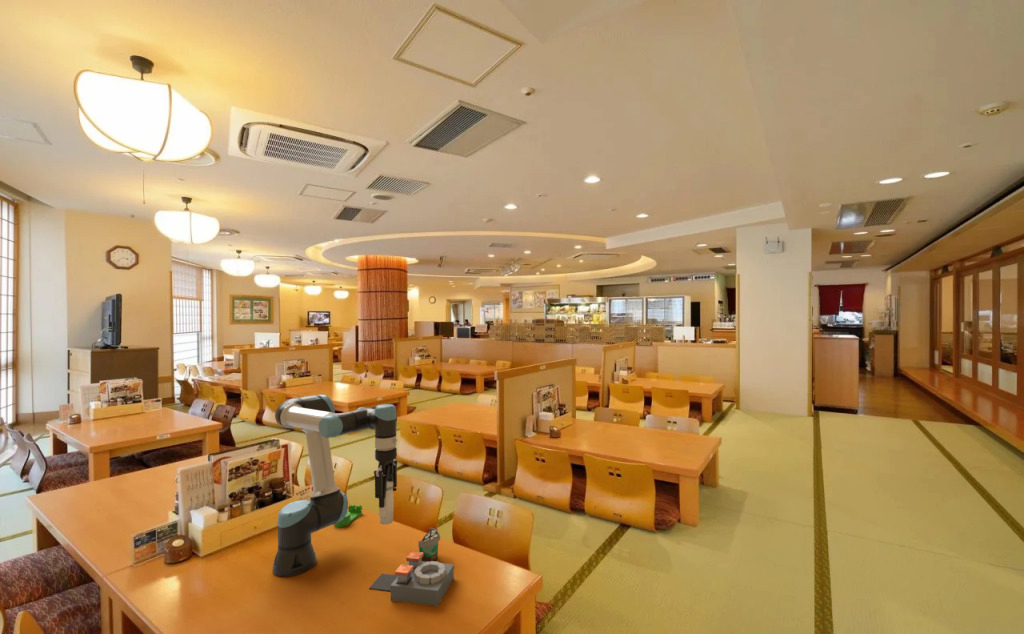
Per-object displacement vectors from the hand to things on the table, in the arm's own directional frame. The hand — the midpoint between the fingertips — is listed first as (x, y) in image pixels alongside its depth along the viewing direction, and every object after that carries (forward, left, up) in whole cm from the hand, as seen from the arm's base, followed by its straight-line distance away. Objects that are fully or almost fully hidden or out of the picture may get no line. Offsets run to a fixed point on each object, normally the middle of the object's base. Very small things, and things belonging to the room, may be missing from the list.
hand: (386, 512), depth 158 cm
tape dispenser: (-44, +44, -26) cm, 67 cm away
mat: (0, 0, -25) cm, 25 cm away
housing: (+14, -1, -25) cm, 29 cm away
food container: (+10, +17, -26) cm, 33 cm away
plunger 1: (+9, -5, -23) cm, 26 cm away
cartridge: (0, 0, -3) cm, 3 cm away
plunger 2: (+9, +4, -23) cm, 25 cm away
